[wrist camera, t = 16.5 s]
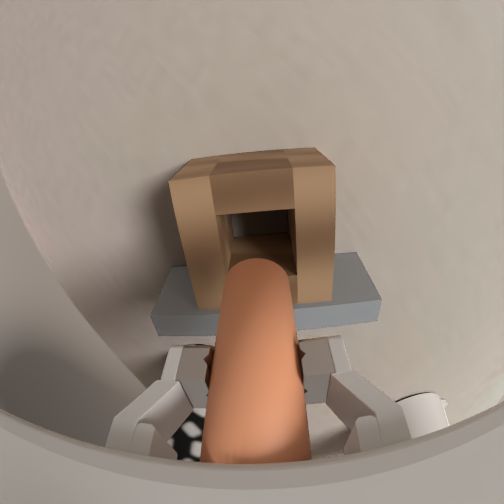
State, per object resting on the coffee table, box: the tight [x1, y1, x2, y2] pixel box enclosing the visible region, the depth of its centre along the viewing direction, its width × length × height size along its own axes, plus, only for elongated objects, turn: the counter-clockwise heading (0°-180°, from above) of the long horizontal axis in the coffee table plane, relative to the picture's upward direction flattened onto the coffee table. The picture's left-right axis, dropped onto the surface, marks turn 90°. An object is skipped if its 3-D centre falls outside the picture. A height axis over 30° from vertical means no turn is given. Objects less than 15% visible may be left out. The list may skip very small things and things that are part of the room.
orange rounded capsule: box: [200, 258, 311, 464], centre depth 9 cm, size 3×3×10 cm
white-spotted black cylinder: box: [167, 344, 215, 462], centre depth 23 cm, size 8×8×20 cm
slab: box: [151, 252, 382, 336], centre depth 22 cm, size 2×16×6 cm, turn 96°
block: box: [168, 148, 336, 310], centre depth 20 cm, size 9×9×6 cm
